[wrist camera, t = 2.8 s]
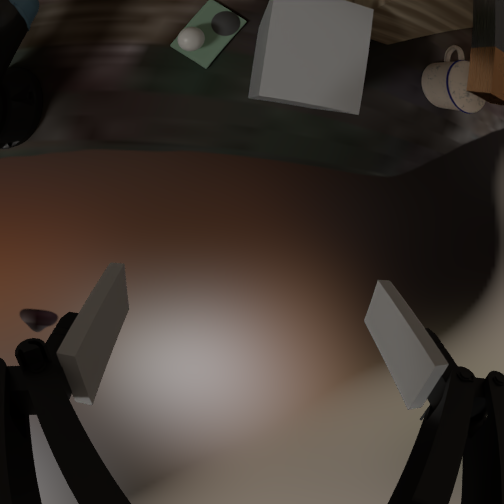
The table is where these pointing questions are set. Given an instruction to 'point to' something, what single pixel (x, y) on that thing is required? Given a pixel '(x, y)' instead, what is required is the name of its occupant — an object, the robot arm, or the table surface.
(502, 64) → the brown bar
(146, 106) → the table surface
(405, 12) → the wood grain block
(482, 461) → the robot arm
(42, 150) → the table surface
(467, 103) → the teacup with lid
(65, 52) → the table surface
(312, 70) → the block
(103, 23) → the table surface
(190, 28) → the ball
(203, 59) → the green mat
